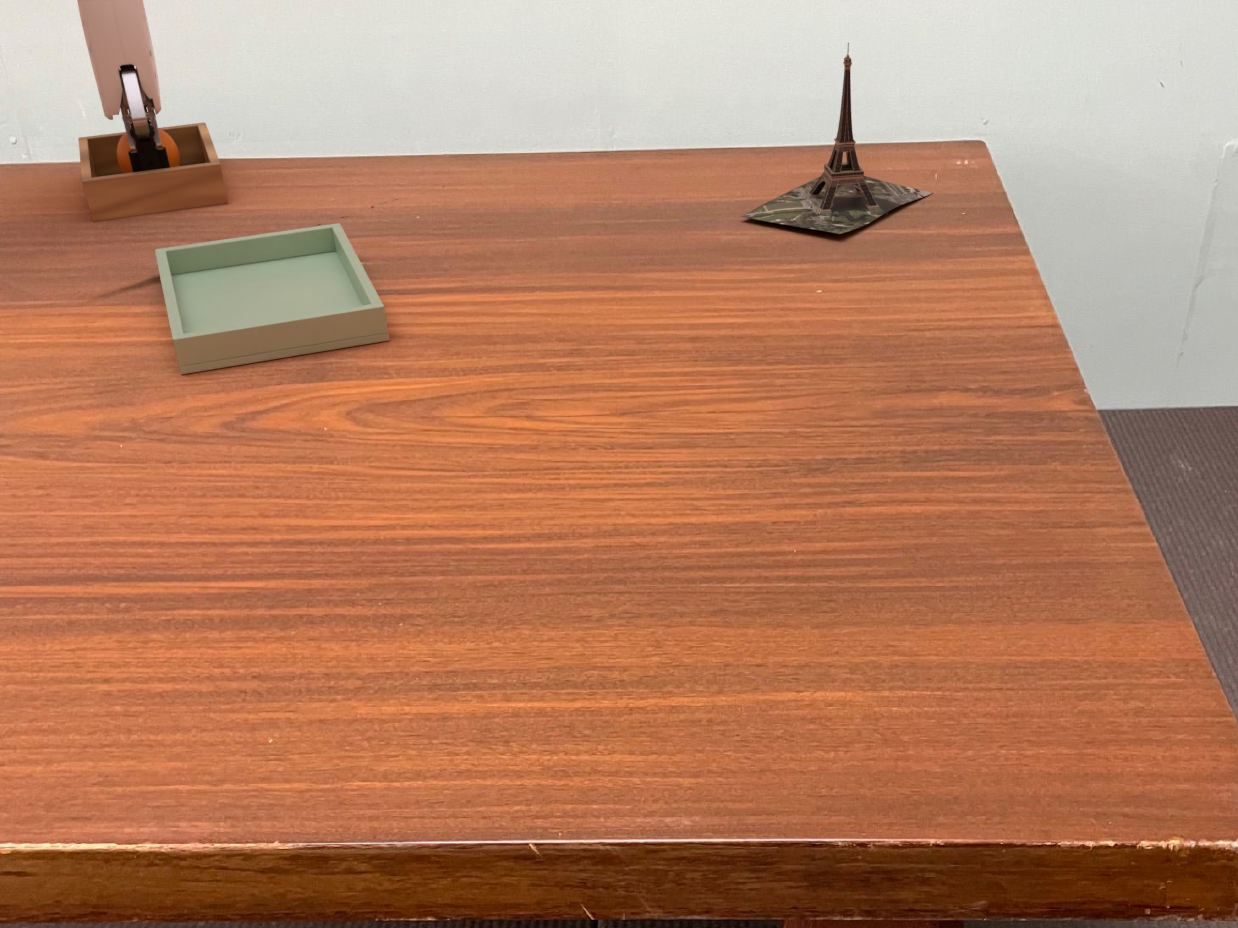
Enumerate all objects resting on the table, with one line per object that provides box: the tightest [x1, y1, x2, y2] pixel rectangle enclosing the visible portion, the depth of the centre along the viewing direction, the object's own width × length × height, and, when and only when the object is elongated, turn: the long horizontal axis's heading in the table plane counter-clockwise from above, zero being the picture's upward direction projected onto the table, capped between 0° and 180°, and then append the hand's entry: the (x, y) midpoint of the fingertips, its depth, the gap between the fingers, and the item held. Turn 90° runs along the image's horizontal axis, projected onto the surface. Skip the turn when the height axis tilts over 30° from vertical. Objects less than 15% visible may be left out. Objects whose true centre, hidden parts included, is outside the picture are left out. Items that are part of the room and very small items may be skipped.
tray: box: [154, 222, 390, 375], centre depth 110 cm, size 20×15×3 cm
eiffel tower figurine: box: [740, 42, 933, 235], centre depth 122 cm, size 15×10×13 cm
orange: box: [117, 127, 180, 174], centre depth 132 cm, size 5×5×6 cm
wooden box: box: [77, 122, 229, 223], centre depth 133 cm, size 15×12×4 cm
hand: (155, 183), depth 134 cm, fingers closed on orange, 5 cm apart
